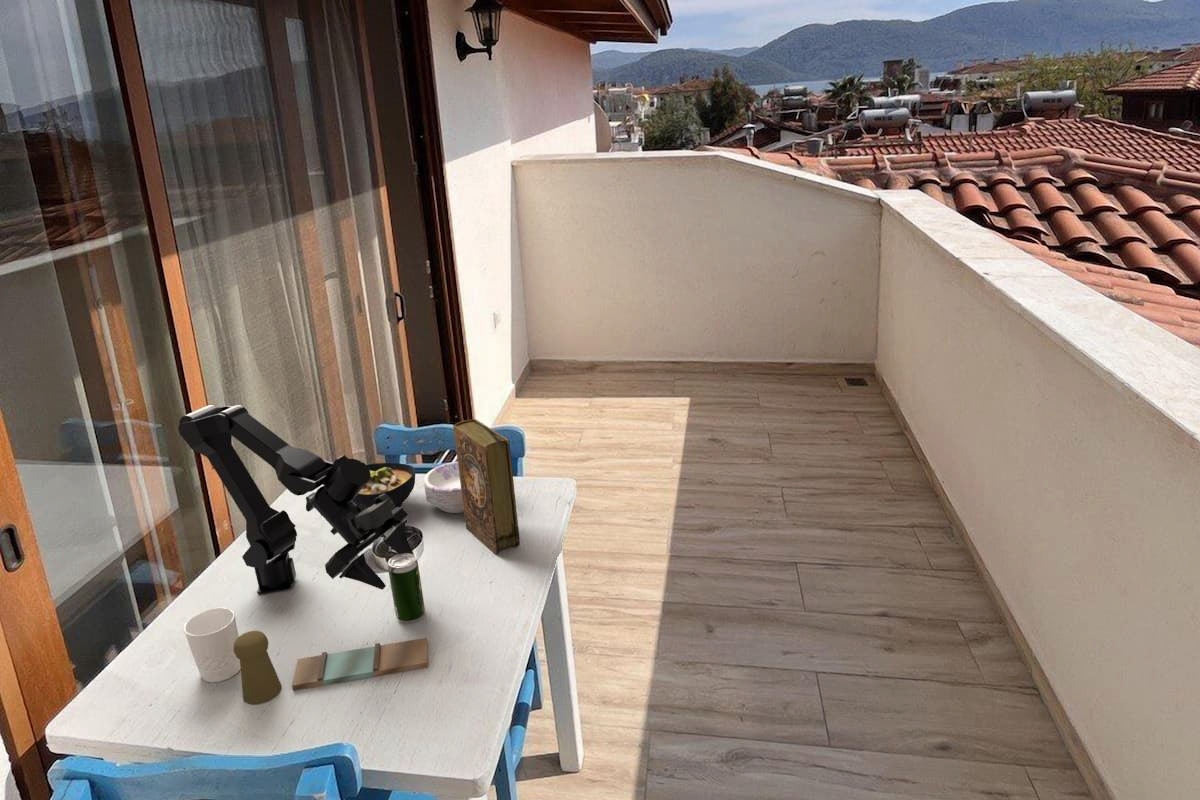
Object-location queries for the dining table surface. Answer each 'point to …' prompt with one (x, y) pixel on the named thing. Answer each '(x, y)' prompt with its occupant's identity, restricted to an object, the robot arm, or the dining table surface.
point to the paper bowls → (444, 488)
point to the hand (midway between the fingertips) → (399, 574)
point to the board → (360, 663)
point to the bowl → (387, 483)
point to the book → (487, 485)
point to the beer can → (406, 588)
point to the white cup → (214, 643)
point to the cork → (256, 668)
